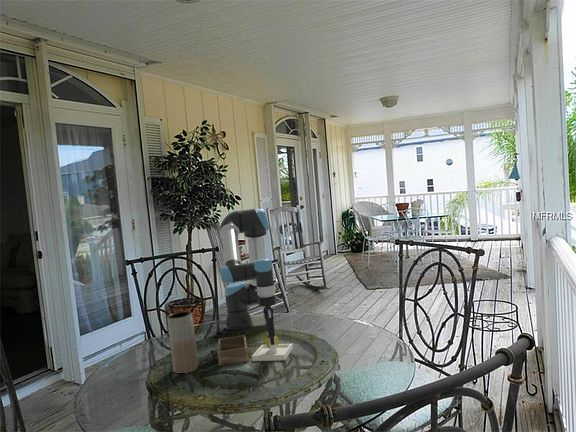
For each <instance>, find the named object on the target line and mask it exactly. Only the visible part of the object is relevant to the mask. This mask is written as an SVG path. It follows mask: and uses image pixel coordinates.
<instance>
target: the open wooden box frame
mask: <svg viewBox="0 0 576 432" xmlns="http://www.w3.org/2000/svg"><path fill="white" fill-rule="evenodd" d="M217 342H218V343H217V344H218V345H217V360H218V366H225V365H231V364H238V363H244V362H249V355H248V347H247V346H248V345H247V339H246V335H245V334H244V335H235V336H229V337H223V338H218V341H217Z"/></svg>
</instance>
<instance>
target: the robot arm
mask: <svg viewBox="0 0 576 432" xmlns="http://www.w3.org/2000/svg"><path fill="white" fill-rule="evenodd" d="M267 218H268V217H267V214H266V211H265V209H263V208H252V209H243V210H235V211H232V212H230V213H228V214H227V215H226V216H225V217H224V218H223V219H222V221H221V224H220V225H219V235H220V237H221V238H222V246H223V247H222V249H223V261H224V266H221V267H220V270H219V271H220V279H221V282H222V284H230V285H227V286H226V287H225V288H224V297H225V306H226V317H225V318H226V319H225V322H224V323H225V324H224V326H225V330H227V331H238V330H244V329H248V328H250V327H252V326H254V319H253V317H252V314H250V311H249V307H250V306H259V307H263V310H262V311H263V314H264V315H263V316H264V319H265V327H266V336H267V335H268V334H269V335H268V336H267V338H269V347H270V353H273V352H277V350H276V341H275V335H276V332H275V325H274V323H275V322H274V319H275V317H274V309H273V307H272V306H274V305H276V304H277V296H276V295H275V294H276V287H275V281H274V270H273V266H274V265H273V264H272V259H271V258H267V255H266V246H265V237H266V235H267V231H269V230H270V227H269V222H268V219H267ZM239 234H244V237H245V238H246V239H247V245H248V254H249V262H248V263H247V262H246V263H242V260H241V252H240V244H239ZM246 281H249V282H248V284H247V283H246Z"/></svg>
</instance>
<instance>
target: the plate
mask: <svg viewBox="0 0 576 432" xmlns="http://www.w3.org/2000/svg"><path fill="white" fill-rule="evenodd" d="M293 349H294V345H293V343H278V345H277V347H276V350H277V352H273V353H270V349H269V348H268V347H267V346H266V344H261V345H260V346H259V348H257V350H256V351H254V352H253V354H251V360H252V361H251V362H263V361H265V362H267V361H269V362H270V361H286V359H287V358H288V357H289V355H290V354H291V352H292V351H293ZM291 350H292V351H291Z"/></svg>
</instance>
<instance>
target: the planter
mask: <svg viewBox="0 0 576 432" xmlns="http://www.w3.org/2000/svg"><path fill="white" fill-rule="evenodd" d="M166 319H167V327H168V336H169V337H168V338H169V345H170V355H171V362H172V371H173V373H174V372H177V373H185V374H188V372H189V373H192V372H195V371H196V370H197V369H198V368H199V361H198V360H199V359H198V352H197V342H196V336H195V335H196V334H195V333H196V332H195V325H194V316H193V312H192V311H180V312H174V313H171V314H169V315H167V317H166Z"/></svg>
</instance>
